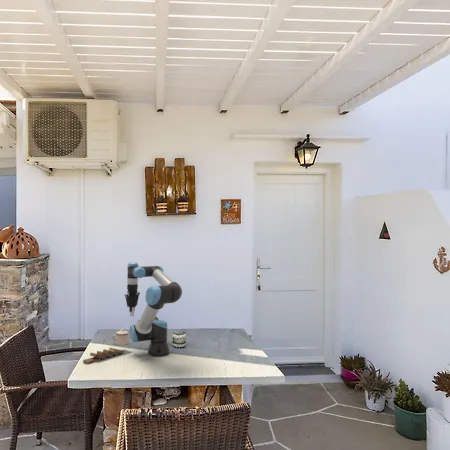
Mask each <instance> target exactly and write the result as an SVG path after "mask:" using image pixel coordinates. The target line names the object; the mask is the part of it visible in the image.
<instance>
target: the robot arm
mask: <svg viewBox="0 0 450 450" xmlns="http://www.w3.org/2000/svg"><path fill="white" fill-rule="evenodd" d="M126 269H127V279H126V280H127V282H126V283H127V285H126V289H127V290H126V292H127V293H125V294H124V296H125V302H126V307H128V308H129V311H128V312H129V316H130V317H135V310H136V309H135V308H136V307H137V306H138V303H139V297H140V295H141V292H139V291H138V285H139V284H138V283H139V279H142V278H151V277H152V278H153V279H154V280H155V281H156V282H158V284H159V285H152V286H149V287H148V288H147V290H146V291H145V296H144V297H145V302H146V306H145V308H144V310H143V313H142V315H141V317H140V319H138V320H137V321H136V323H135V324H132V325H130V327H129V335H130V339H131V341H132V342H133V343H140V342H146V341H150V344H149V346H148V349H147V354H148V355H149V356H151V357H164V356H165V357H166V356H168V355H169V354H170V348H169V345H168V323H167V322H166V321H164V320H161V319H156V317H157V315H158V313H159V311H160V310H161V309H163V308H164V306H165V305H167V304H174V303H176V302H178V301H179V300H180V299H181V298H182V293H183V289H182V286H181V285H180V284H179V283H178V282H176V281H174V280H172V279H171V278H170V277H169V276H168V275H167V274H166V273H164V268H163V266H161V265H150V266H149V265H148V266H139V264H138V262H128V263H127V268H126Z"/></svg>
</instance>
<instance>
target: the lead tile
mask: <svg viewBox="0 0 450 450" xmlns="http://www.w3.org/2000/svg"><path fill="white" fill-rule="evenodd" d="M108 350H110V351H113V352H118V353H124V352H125V351H123V350H124V349H119V348H114V347H109V349H108Z"/></svg>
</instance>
